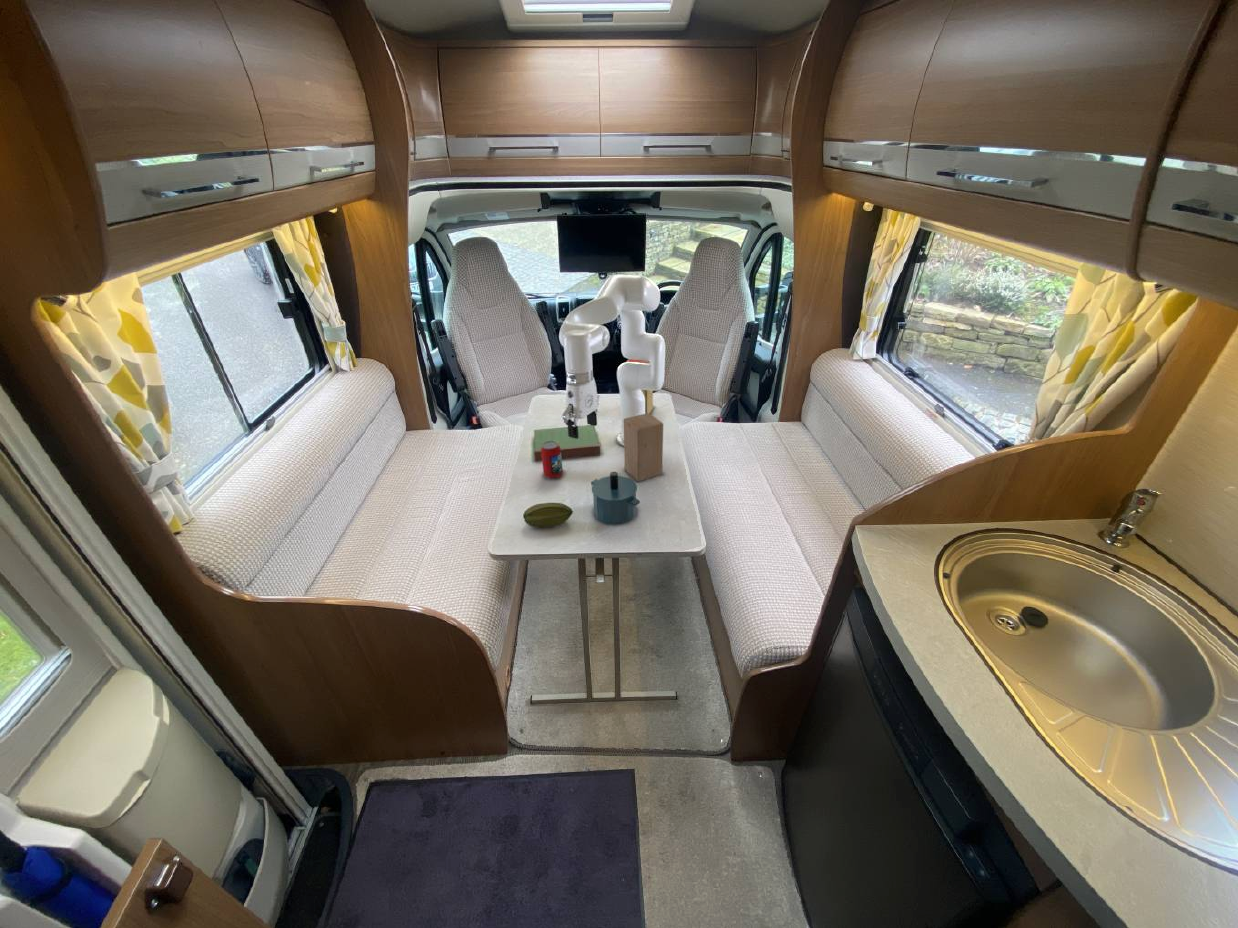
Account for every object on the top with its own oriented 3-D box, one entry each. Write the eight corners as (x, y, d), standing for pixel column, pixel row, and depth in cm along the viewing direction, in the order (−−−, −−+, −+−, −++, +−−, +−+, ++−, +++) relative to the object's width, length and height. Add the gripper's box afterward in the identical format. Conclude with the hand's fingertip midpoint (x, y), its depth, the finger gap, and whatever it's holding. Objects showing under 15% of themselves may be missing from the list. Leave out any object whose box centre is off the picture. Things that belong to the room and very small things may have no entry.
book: (535, 460, 185) (534, 452, 183) (535, 438, 201) (534, 430, 199) (602, 454, 188) (601, 445, 186) (596, 432, 204) (596, 424, 202)
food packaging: (633, 405, 227) (633, 351, 215) (653, 406, 225) (654, 353, 212) (626, 417, 216) (625, 361, 204) (647, 419, 214) (647, 363, 201)
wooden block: (637, 482, 170) (637, 429, 160) (624, 469, 178) (623, 418, 168) (662, 474, 174) (663, 423, 164) (648, 462, 182) (648, 412, 172)
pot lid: (613, 473, 160) (613, 457, 157) (646, 489, 152) (646, 472, 149) (582, 491, 152) (581, 474, 149) (615, 509, 143) (614, 491, 140)
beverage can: (559, 480, 173) (556, 449, 167) (541, 478, 174) (537, 448, 168) (565, 470, 178) (562, 440, 172) (547, 468, 180) (544, 439, 174)
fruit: (548, 508, 158) (546, 490, 155) (575, 522, 151) (574, 504, 148) (520, 525, 151) (518, 507, 147) (548, 541, 144) (546, 522, 141)
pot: (608, 492, 165) (607, 470, 161) (651, 513, 154) (651, 490, 150) (580, 509, 157) (578, 486, 153) (622, 533, 146) (622, 509, 142)
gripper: (572, 388, 131) (576, 445, 140) (607, 368, 144) (609, 422, 152) (549, 383, 134) (555, 439, 143) (585, 365, 147) (588, 417, 156)
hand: (583, 430), depth 148 cm, fingers open, 9 cm apart
